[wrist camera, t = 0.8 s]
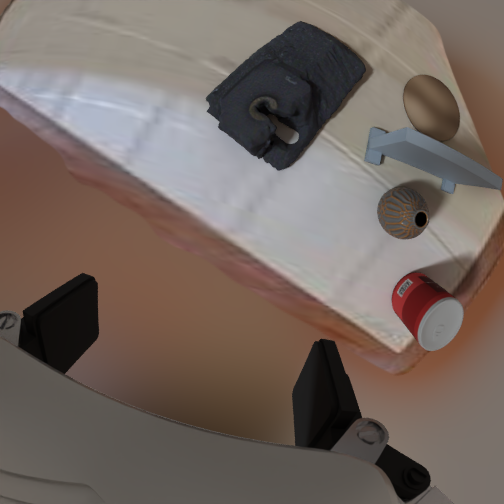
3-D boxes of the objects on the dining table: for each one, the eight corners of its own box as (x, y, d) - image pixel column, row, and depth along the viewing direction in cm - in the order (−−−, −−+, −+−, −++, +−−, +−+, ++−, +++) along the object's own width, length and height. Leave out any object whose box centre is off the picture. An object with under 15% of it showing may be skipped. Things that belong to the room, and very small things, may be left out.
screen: (370, 128, 33) (409, 112, 22) (454, 164, 33) (504, 166, 21) (364, 161, 34) (402, 156, 23) (449, 193, 34) (498, 203, 23)
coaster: (405, 65, 29) (407, 63, 29) (458, 93, 29) (460, 92, 29) (399, 125, 32) (401, 125, 32) (454, 151, 32) (456, 151, 32)
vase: (416, 193, 35) (448, 199, 27) (405, 237, 37) (434, 253, 28) (377, 180, 35) (405, 182, 27) (366, 226, 37) (390, 241, 29)
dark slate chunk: (377, 82, 31) (389, 72, 27) (275, 179, 37) (276, 180, 32) (300, 17, 29) (303, 1, 25) (195, 108, 34) (185, 100, 30)
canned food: (387, 318, 41) (414, 356, 30) (392, 273, 38) (425, 303, 28) (425, 312, 40) (456, 345, 29) (431, 268, 38) (469, 295, 27)
